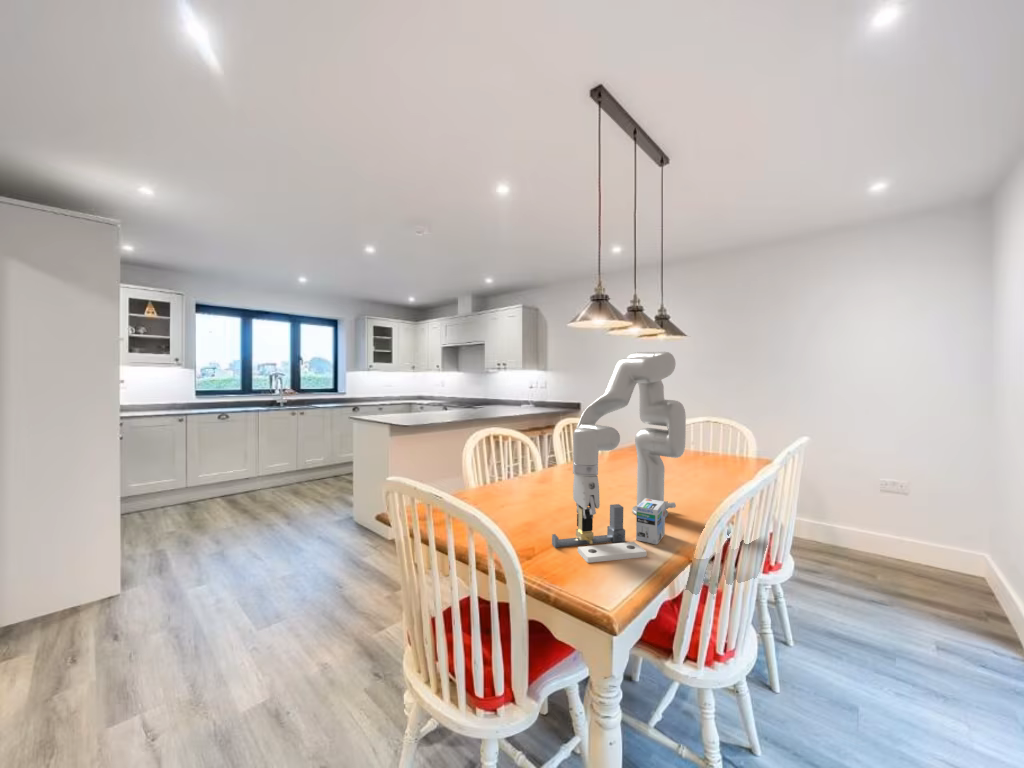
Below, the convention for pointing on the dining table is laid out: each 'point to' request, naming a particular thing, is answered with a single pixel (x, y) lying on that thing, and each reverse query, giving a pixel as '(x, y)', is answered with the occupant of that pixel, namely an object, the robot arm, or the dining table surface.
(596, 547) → the hole plate
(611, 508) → the rail
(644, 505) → the light bulb box
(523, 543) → the dining table surface
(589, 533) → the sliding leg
